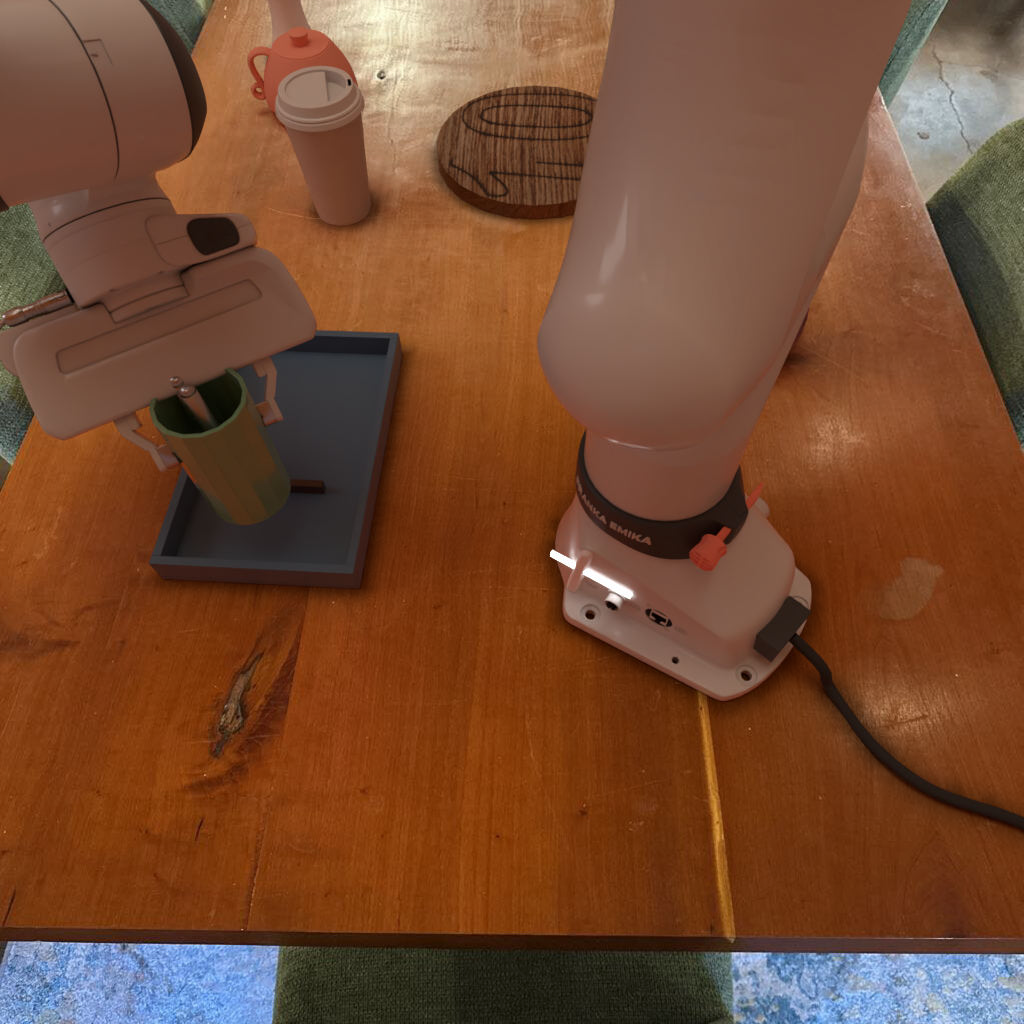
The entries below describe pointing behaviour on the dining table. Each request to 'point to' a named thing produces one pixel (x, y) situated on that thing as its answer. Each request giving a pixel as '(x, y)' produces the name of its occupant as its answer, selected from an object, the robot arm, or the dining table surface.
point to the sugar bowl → (294, 60)
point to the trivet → (518, 150)
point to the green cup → (227, 451)
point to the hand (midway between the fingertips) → (224, 444)
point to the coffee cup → (327, 140)
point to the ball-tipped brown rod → (198, 407)
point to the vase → (286, 16)
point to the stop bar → (307, 486)
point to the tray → (301, 472)
